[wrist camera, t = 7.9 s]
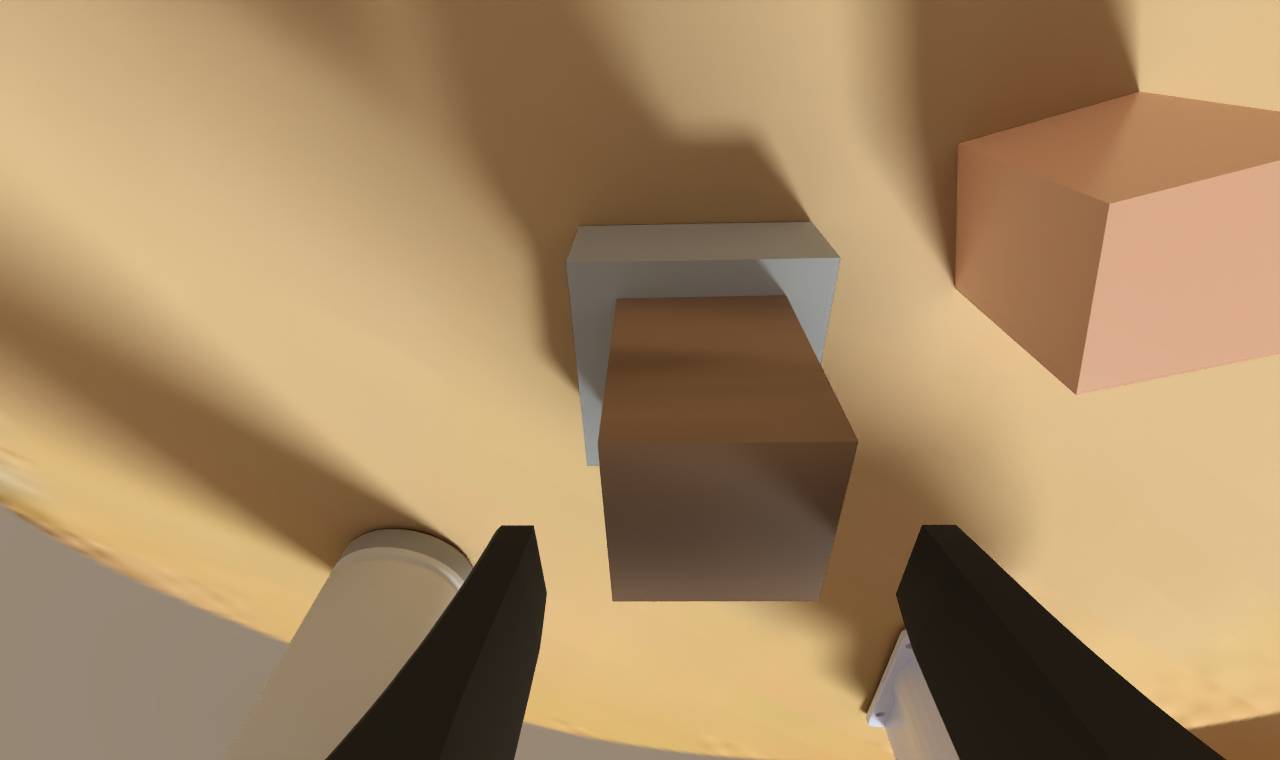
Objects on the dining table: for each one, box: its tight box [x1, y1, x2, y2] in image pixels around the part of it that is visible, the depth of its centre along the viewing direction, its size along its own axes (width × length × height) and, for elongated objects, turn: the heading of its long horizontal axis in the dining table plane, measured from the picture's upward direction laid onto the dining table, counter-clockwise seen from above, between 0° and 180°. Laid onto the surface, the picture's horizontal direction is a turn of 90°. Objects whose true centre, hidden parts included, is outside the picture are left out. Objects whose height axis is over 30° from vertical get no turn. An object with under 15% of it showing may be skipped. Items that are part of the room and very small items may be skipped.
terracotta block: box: [955, 92, 1280, 395], centre depth 13 cm, size 4×4×6 cm
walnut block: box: [598, 295, 858, 601], centre depth 13 cm, size 4×4×6 cm
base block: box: [566, 222, 840, 466], centre depth 17 cm, size 7×7×3 cm
